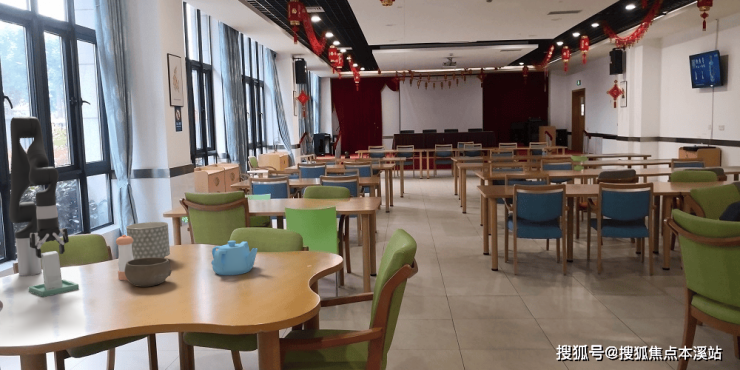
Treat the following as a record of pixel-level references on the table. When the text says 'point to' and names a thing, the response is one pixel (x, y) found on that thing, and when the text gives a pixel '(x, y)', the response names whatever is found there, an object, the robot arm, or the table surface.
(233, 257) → the teapot
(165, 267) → the bowl
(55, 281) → the skincare box
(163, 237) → the planter
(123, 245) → the salt shaker
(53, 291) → the tray
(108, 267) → the table surface
